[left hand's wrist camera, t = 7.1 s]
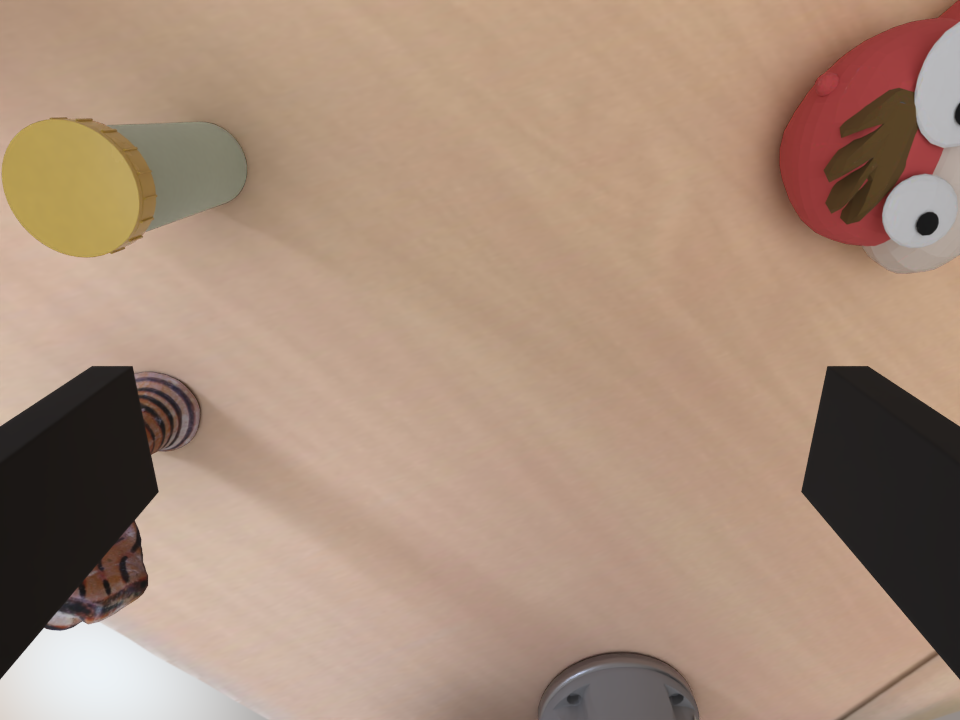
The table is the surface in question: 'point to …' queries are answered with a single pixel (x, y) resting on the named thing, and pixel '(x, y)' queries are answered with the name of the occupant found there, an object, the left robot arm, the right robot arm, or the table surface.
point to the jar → (188, 166)
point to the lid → (78, 186)
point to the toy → (884, 147)
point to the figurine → (122, 567)
